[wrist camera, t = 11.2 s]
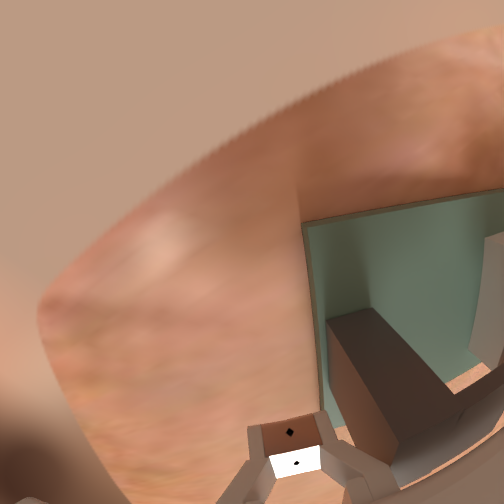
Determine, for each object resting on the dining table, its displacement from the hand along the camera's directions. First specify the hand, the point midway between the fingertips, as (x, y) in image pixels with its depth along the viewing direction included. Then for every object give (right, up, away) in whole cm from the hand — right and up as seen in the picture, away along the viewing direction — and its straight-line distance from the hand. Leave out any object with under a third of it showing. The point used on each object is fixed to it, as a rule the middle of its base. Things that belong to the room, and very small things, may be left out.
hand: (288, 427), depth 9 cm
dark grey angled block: (+5, +2, +4) cm, 7 cm away
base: (+16, +5, +5) cm, 17 cm away
